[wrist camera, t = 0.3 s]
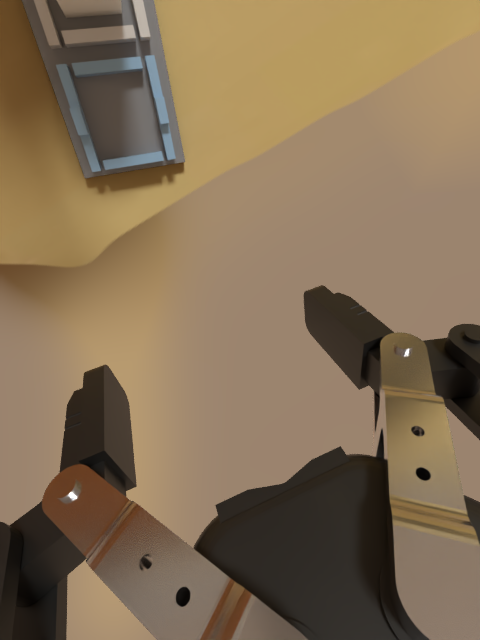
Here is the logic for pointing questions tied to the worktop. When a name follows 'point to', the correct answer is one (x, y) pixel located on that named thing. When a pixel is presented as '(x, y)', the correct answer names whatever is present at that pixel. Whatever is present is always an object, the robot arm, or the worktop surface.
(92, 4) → the white post with knob
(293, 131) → the worktop surface
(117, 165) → the plate
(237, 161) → the worktop surface
